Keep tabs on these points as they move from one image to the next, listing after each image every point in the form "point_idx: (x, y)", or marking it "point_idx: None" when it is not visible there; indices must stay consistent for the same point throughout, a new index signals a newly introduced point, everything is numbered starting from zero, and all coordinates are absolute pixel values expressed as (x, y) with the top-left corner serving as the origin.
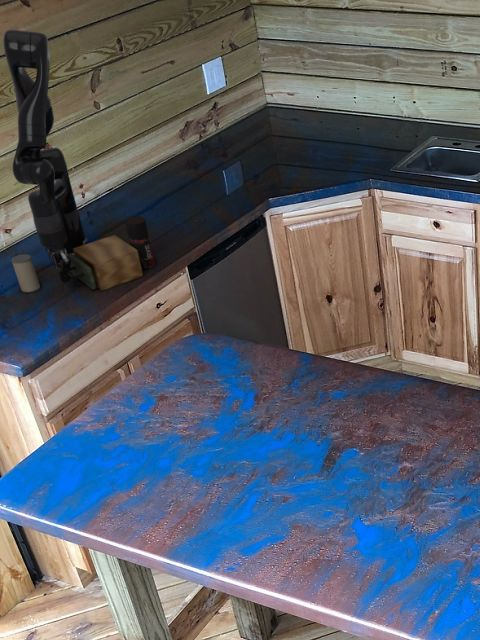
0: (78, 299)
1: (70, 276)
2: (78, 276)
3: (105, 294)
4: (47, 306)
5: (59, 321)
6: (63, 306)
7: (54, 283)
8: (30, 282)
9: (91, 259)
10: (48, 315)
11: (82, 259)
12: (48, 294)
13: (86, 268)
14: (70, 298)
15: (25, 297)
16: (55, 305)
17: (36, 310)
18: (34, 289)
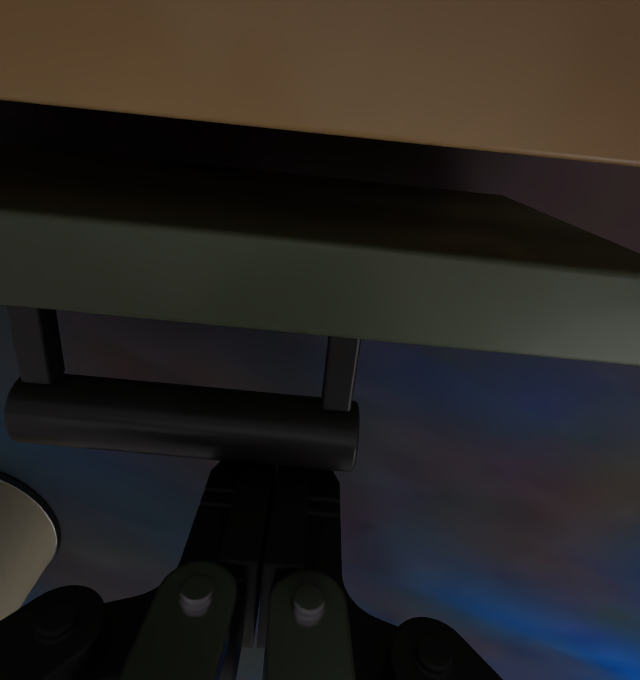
0: (464, 395)
1: (325, 469)
2: (355, 364)
3: (631, 167)
4: (357, 572)
5: (616, 614)
6: (458, 515)
7: (6, 376)
8: (9, 611)
9: (522, 49)
10: (478, 616)
11: None
12: (181, 492)
13: (625, 364)
14: (388, 426)
15: (112, 593)
16: (392, 538)
17: None
18: (49, 538)
